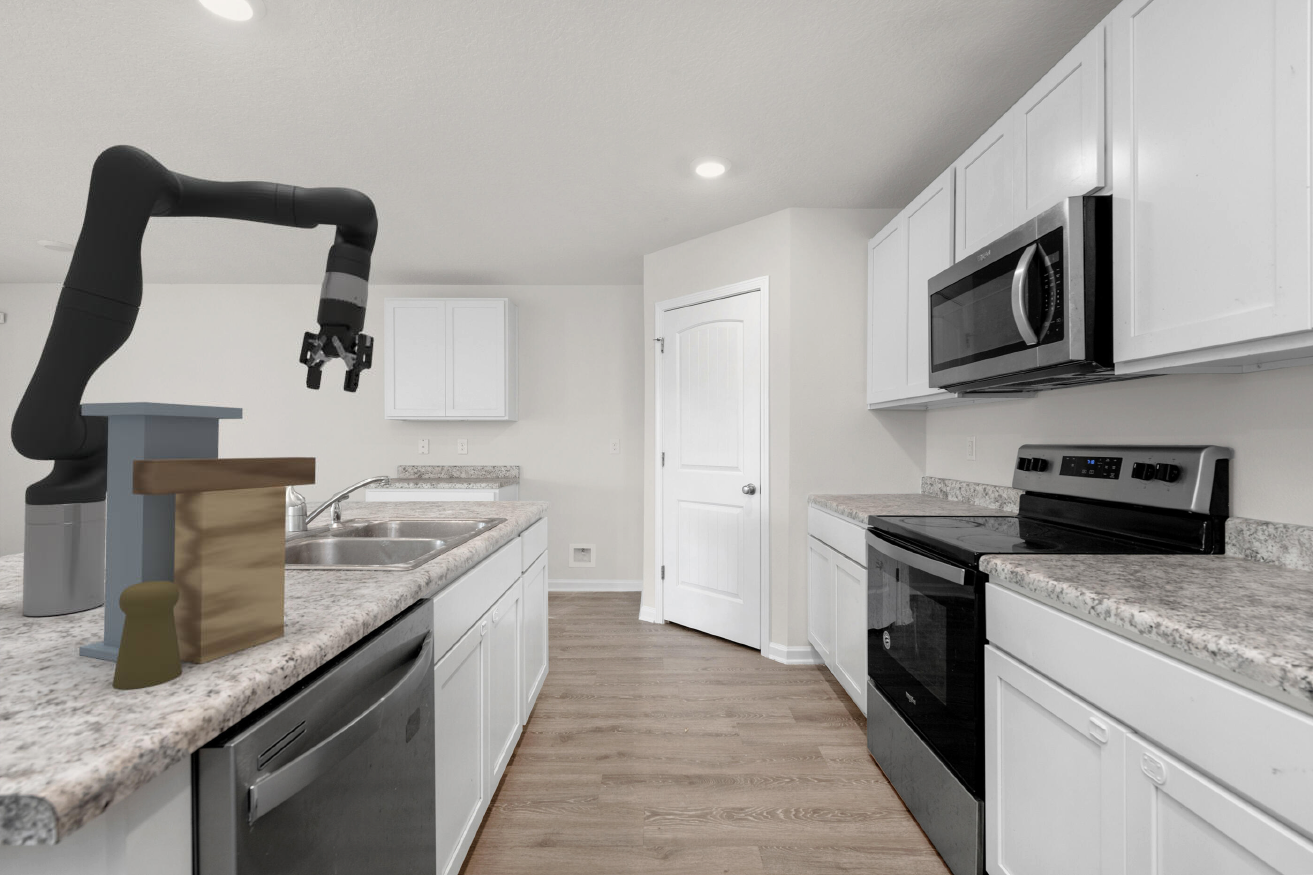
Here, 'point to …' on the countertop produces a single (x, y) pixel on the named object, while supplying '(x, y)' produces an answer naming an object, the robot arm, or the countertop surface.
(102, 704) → the countertop surface
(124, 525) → the blue grey stand
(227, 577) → the oak post
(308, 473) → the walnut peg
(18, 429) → the robot arm
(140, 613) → the cork
